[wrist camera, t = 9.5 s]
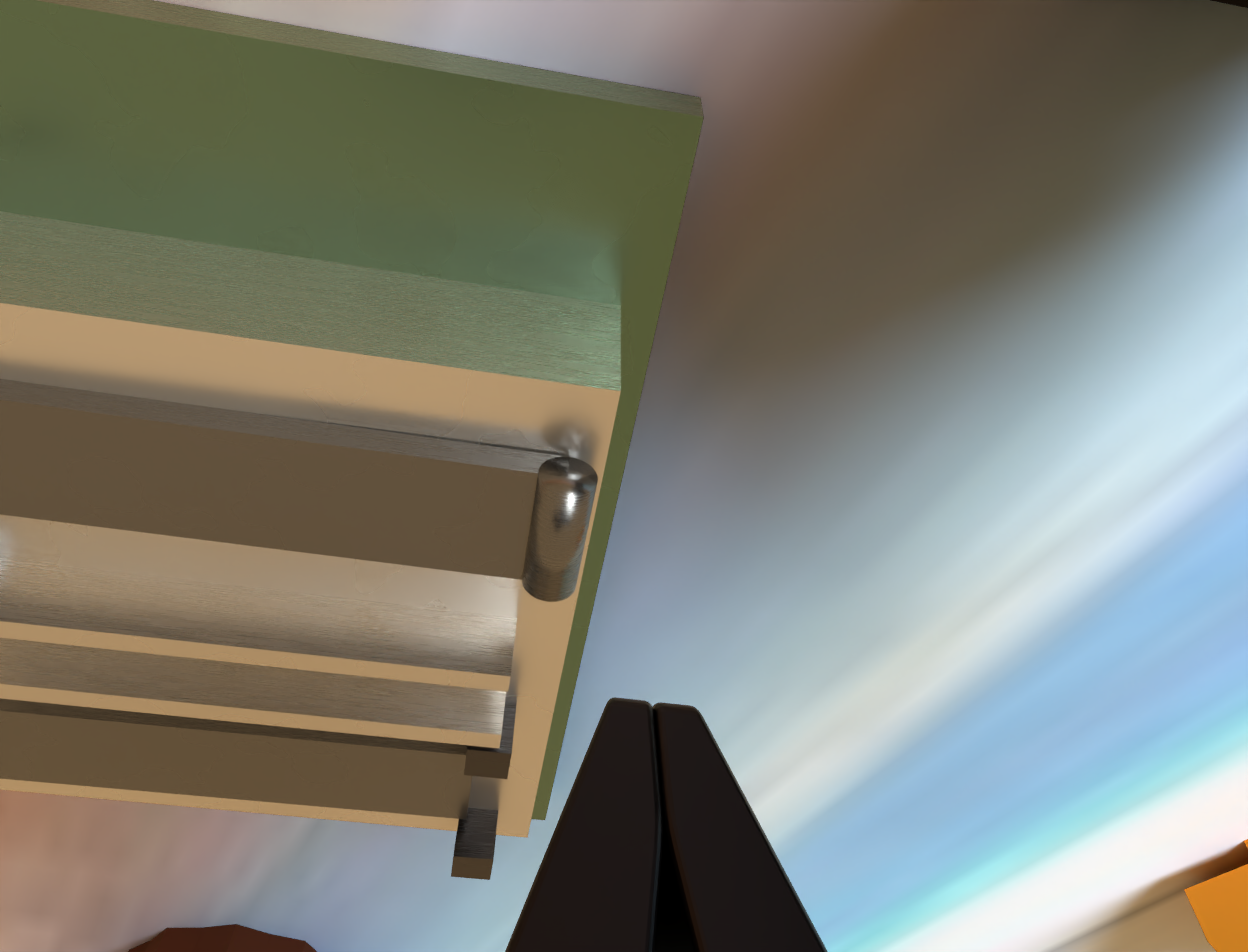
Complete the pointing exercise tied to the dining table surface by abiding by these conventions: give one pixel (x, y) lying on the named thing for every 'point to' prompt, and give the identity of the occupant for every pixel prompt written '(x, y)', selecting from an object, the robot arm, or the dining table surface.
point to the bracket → (1223, 909)
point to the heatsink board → (358, 169)
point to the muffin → (221, 941)
